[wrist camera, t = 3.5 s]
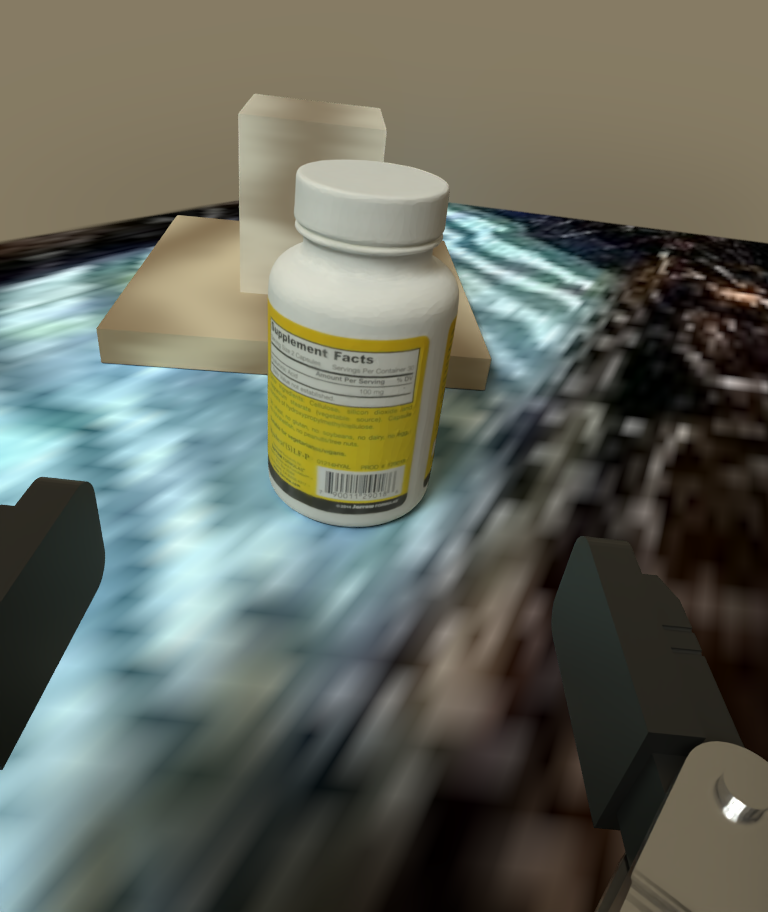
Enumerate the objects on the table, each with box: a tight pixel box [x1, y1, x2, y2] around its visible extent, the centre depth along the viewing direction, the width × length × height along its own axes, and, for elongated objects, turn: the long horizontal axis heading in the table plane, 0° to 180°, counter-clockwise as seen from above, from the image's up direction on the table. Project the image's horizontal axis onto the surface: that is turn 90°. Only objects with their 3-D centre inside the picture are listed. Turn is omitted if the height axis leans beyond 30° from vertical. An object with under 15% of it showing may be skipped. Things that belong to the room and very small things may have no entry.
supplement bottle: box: [268, 159, 459, 527], centre depth 20 cm, size 5×5×10 cm
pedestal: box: [97, 94, 491, 390], centre depth 32 cm, size 16×16×9 cm
